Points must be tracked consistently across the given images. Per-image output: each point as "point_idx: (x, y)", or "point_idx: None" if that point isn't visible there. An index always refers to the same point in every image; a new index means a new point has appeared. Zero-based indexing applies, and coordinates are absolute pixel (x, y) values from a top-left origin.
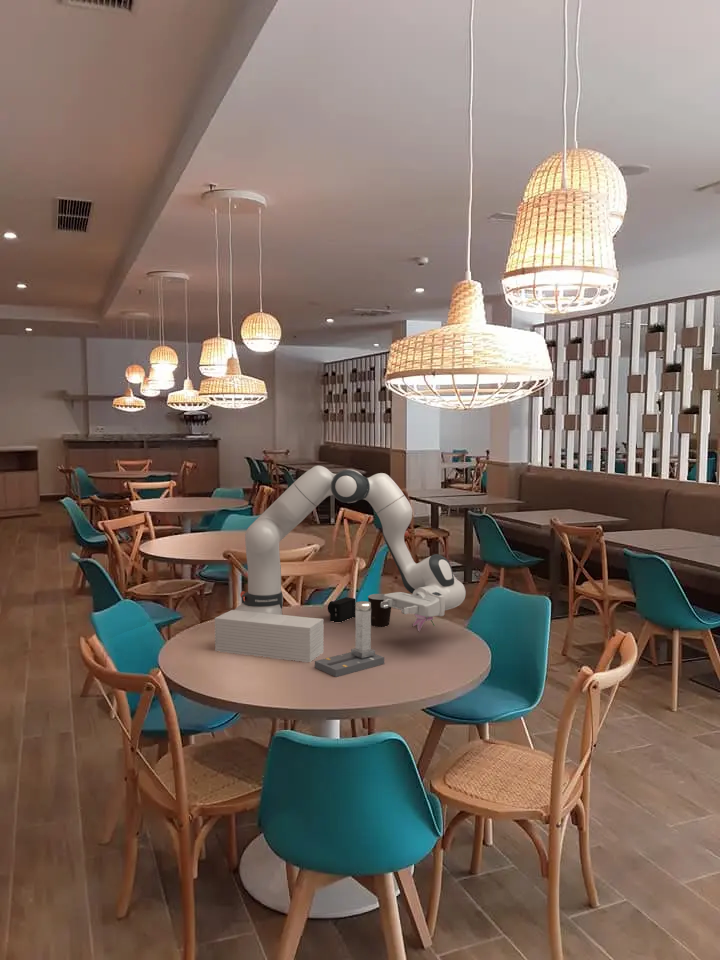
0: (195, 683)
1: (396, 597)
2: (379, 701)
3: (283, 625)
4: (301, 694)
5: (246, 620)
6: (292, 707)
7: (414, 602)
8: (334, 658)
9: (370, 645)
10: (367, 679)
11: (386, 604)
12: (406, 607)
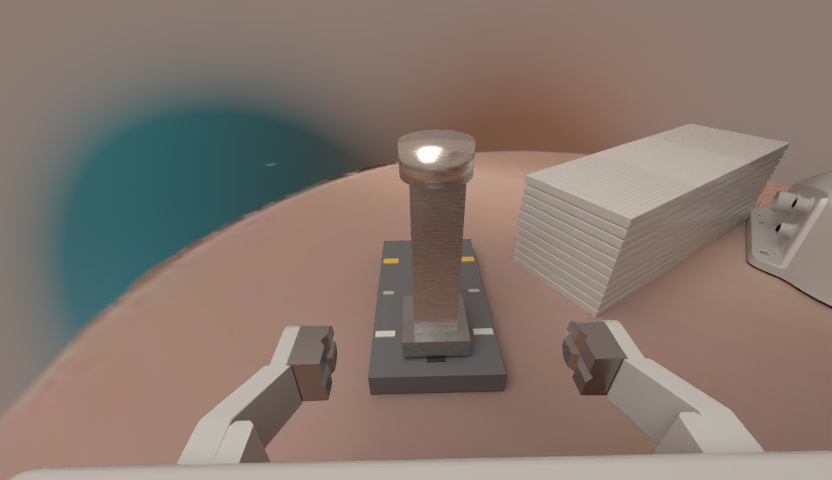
0: (496, 156)
1: (676, 472)
2: (215, 249)
3: (581, 158)
4: (360, 200)
5: (653, 138)
6: (331, 183)
7: (250, 473)
8: (462, 271)
9: (414, 320)
10: (316, 289)
11: (582, 358)
12: (292, 350)
